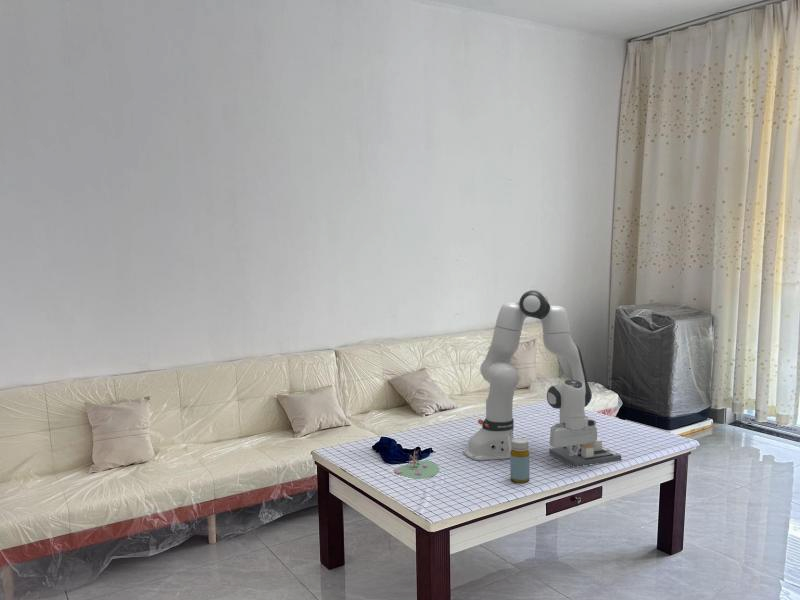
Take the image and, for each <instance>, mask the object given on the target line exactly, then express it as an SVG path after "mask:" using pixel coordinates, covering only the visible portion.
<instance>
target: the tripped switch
mask: <svg viewBox="0 0 800 600" xmlns="http://www.w3.org/2000/svg"><path fill="white" fill-rule="evenodd" d="M581 456H582V457H584V458H589V457H594V447H593V446H591V445H583V446H581Z"/></svg>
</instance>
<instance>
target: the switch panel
mask: <svg viewBox="0 0 800 600" xmlns="http://www.w3.org/2000/svg"><path fill="white" fill-rule="evenodd" d="M583 445H591V446H593V447H594V457H589V458H584V457H582V456H581V446H583ZM574 448H575V446H572V448H571V449H572V451H573V450H574ZM548 450H549V451H548V454H549V453H550V455H551V456H553V457H555V458H557V459H558V458H559V459H558V460H560V459H561V460H560V461H562V460H563V461H562V462H564V461H565V462H567V463H568V464H567V463H566V464H567V465H569V464H570V465H569V466H571V465H572V466H571V467H573V466H574V467H575V468H578V467H577V466H582V467H584V466H583V465H588V466H591V465H590V464H594V465H597V464H596V463H601V464H605V463H604V462H607V463H612V462H611V461H613V462H619V461H622V455H621V454H619V453H617V452H615V451H613V450H611V449H609V448H607V447H604V446H603V440H602V439H600V438H598V437H597V441H596V442H594V443H587V444H581V445H580V449H579V451H578V455H577V456H569V451H568V449H567V447H561V448H554V447H551V448H549V449H548ZM618 460H619V461H618ZM565 462H564V463H565ZM574 467H573V468H574Z"/></svg>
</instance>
